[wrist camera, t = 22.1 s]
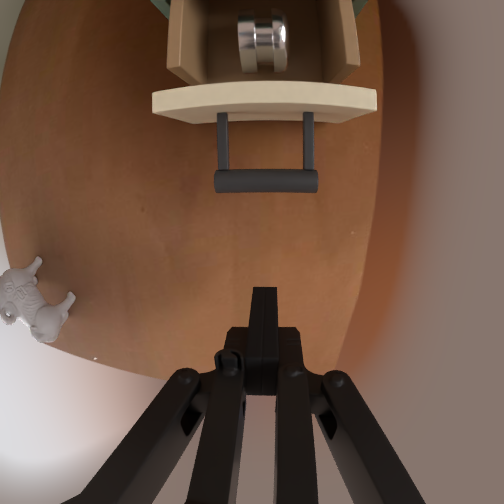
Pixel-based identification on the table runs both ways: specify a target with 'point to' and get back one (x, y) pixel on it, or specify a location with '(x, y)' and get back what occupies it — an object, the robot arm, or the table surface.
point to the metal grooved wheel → (263, 41)
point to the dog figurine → (31, 303)
